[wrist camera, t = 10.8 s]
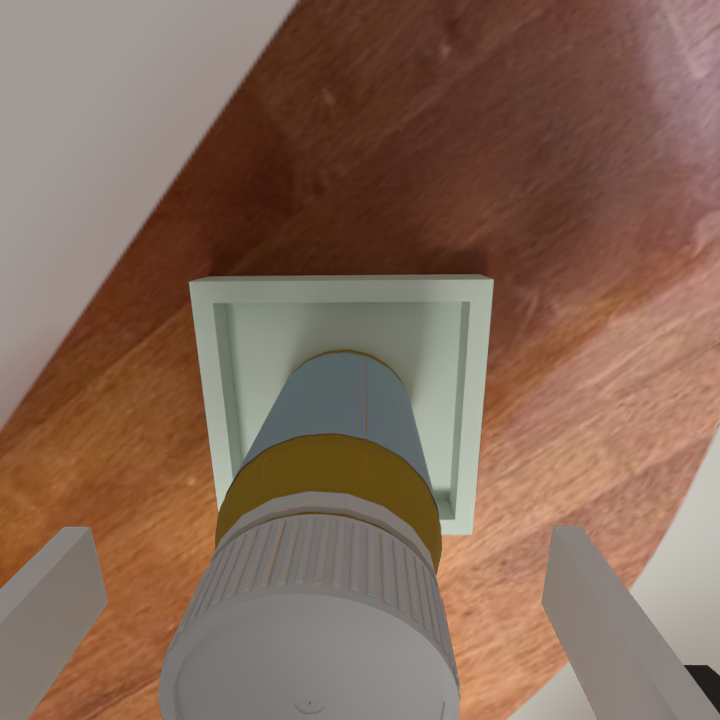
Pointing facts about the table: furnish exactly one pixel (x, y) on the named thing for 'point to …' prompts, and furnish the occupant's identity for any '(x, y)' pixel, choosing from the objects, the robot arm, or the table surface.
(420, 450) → the bottle
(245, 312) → the pale green square tray
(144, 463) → the table surface
